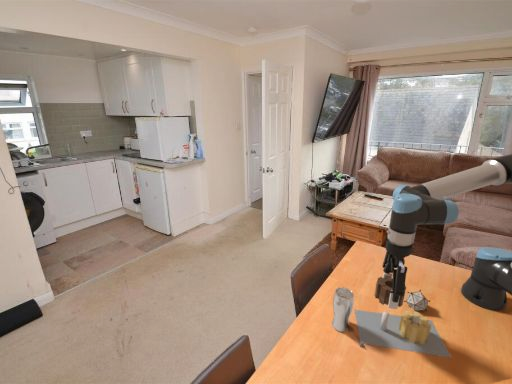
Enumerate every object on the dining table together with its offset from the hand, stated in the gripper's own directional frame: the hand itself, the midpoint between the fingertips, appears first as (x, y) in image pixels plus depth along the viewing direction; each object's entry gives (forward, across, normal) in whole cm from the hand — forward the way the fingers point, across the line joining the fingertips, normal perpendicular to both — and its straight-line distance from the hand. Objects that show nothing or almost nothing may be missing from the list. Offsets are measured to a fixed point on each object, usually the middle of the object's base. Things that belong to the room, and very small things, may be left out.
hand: (388, 297), depth 93 cm
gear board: (+15, 0, +5) cm, 16 cm away
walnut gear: (0, 0, 0) cm, 0 cm away
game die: (+15, -15, +16) cm, 27 cm away
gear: (+14, 0, +10) cm, 17 cm away
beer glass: (+16, 0, -15) cm, 22 cm away
